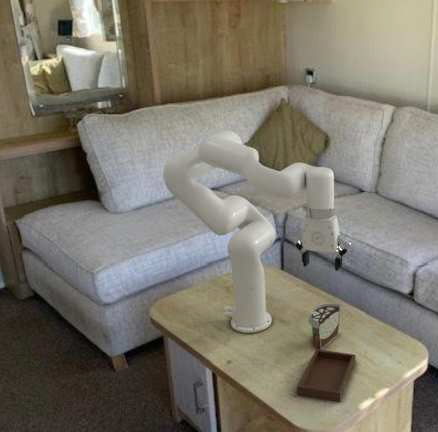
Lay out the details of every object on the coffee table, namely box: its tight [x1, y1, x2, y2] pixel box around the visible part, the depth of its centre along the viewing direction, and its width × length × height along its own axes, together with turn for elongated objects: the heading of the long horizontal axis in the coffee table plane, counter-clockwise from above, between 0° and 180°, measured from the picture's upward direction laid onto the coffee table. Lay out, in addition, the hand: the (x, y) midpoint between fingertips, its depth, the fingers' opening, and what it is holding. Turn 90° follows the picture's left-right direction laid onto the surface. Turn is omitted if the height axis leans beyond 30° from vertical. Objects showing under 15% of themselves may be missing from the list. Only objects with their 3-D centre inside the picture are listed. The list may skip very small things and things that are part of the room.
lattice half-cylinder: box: [308, 303, 342, 350], centre depth 186 cm, size 12×6×10 cm, turn 150°
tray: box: [296, 348, 357, 403], centre depth 170 cm, size 12×18×3 cm, turn 168°
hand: (322, 266), depth 180 cm, fingers open, 9 cm apart
